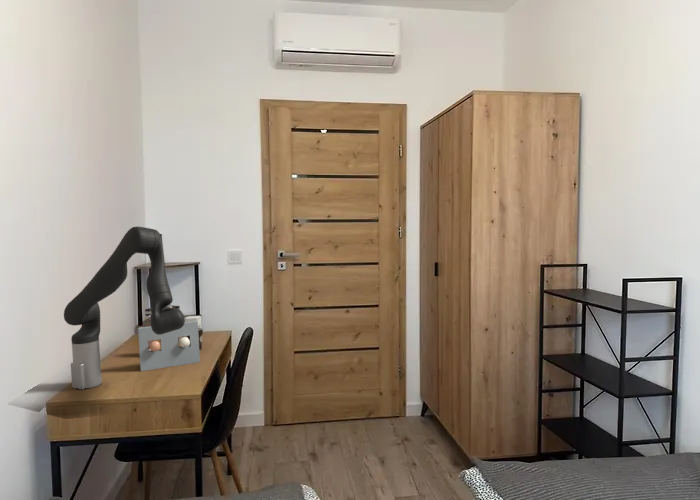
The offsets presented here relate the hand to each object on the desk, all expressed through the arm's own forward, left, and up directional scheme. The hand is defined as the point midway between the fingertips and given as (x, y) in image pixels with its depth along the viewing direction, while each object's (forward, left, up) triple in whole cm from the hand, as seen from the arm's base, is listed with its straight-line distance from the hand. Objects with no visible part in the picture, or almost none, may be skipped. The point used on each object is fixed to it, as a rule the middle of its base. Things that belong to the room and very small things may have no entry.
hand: (161, 307), depth 189 cm
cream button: (+16, +6, -20) cm, 27 cm away
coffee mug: (+38, +22, -28) cm, 52 cm away
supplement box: (+51, +38, -28) cm, 70 cm away
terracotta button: (+7, +14, -20) cm, 25 cm away
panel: (+14, +13, -28) cm, 34 cm away
